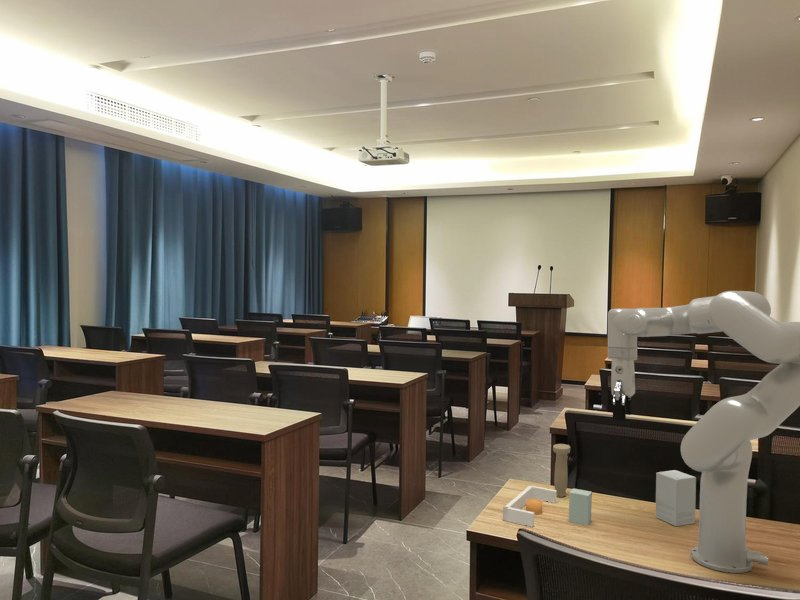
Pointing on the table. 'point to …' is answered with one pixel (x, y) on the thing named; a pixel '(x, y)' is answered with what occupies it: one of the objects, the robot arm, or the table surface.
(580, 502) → the grey tall block
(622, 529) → the table surface
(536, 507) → the puck
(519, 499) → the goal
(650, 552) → the table surface
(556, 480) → the handle
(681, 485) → the supplement box
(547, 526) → the table surface
